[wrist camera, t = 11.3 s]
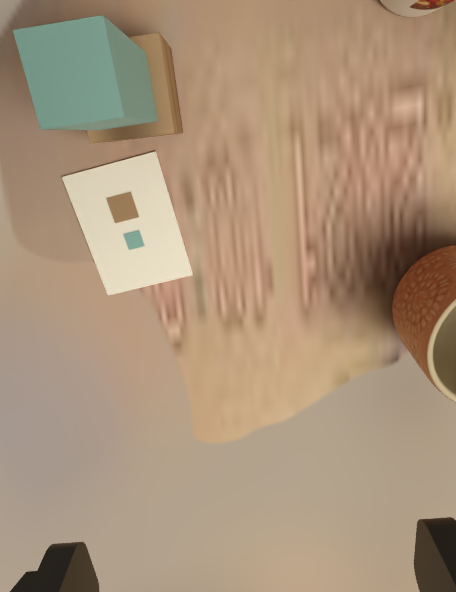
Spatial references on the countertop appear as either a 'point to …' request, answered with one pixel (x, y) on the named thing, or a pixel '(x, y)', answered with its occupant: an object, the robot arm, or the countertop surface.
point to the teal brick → (85, 75)
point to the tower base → (162, 92)
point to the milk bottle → (414, 6)
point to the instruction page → (129, 223)
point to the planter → (430, 316)
